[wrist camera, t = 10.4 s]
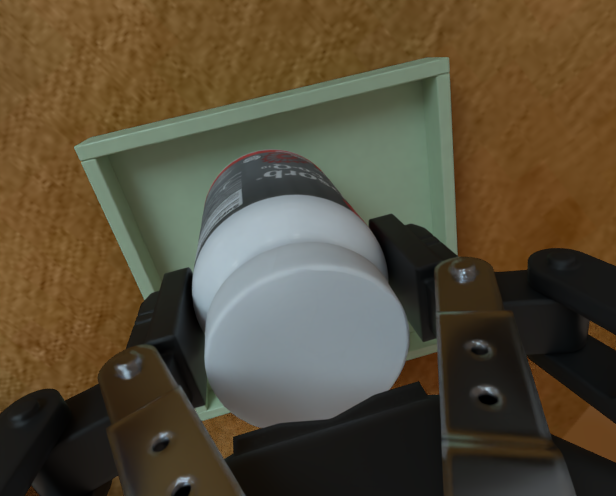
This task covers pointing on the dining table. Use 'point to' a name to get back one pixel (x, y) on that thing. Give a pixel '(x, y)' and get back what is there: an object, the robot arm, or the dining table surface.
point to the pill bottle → (292, 295)
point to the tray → (290, 137)
